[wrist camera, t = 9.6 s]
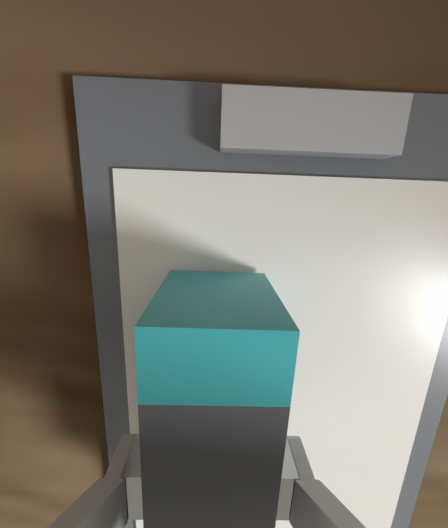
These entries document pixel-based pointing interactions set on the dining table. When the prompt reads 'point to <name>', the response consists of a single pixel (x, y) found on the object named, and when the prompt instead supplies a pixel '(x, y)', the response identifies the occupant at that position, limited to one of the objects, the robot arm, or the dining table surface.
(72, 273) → the dining table surface
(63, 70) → the dining table surface
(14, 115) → the dining table surface
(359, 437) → the clipboard
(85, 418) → the dining table surface
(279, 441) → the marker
